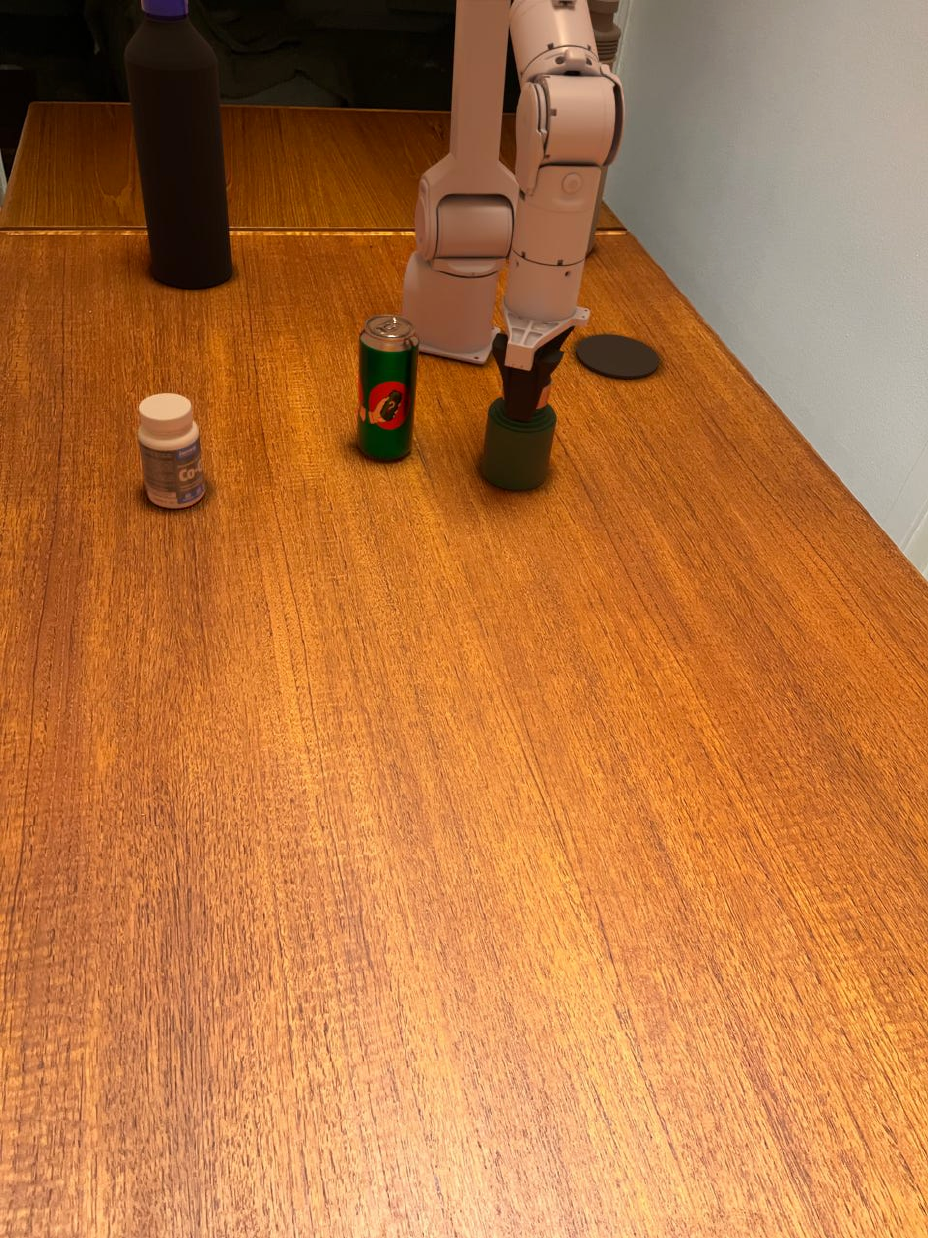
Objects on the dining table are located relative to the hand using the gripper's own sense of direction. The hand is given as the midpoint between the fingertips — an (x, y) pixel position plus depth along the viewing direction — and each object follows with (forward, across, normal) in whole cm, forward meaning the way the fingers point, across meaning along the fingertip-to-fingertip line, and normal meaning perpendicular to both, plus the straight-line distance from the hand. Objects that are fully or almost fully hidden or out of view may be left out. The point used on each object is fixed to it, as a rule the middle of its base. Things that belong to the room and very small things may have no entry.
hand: (524, 405), depth 83 cm
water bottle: (+7, +51, +6) cm, 52 cm away
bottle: (+7, +24, +43) cm, 50 cm away
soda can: (+7, -1, +12) cm, 14 cm away
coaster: (+7, +25, -6) cm, 27 cm away
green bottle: (+7, 0, 0) cm, 7 cm away
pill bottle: (+7, -14, +26) cm, 30 cm away
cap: (-2, 0, 0) cm, 2 cm away
